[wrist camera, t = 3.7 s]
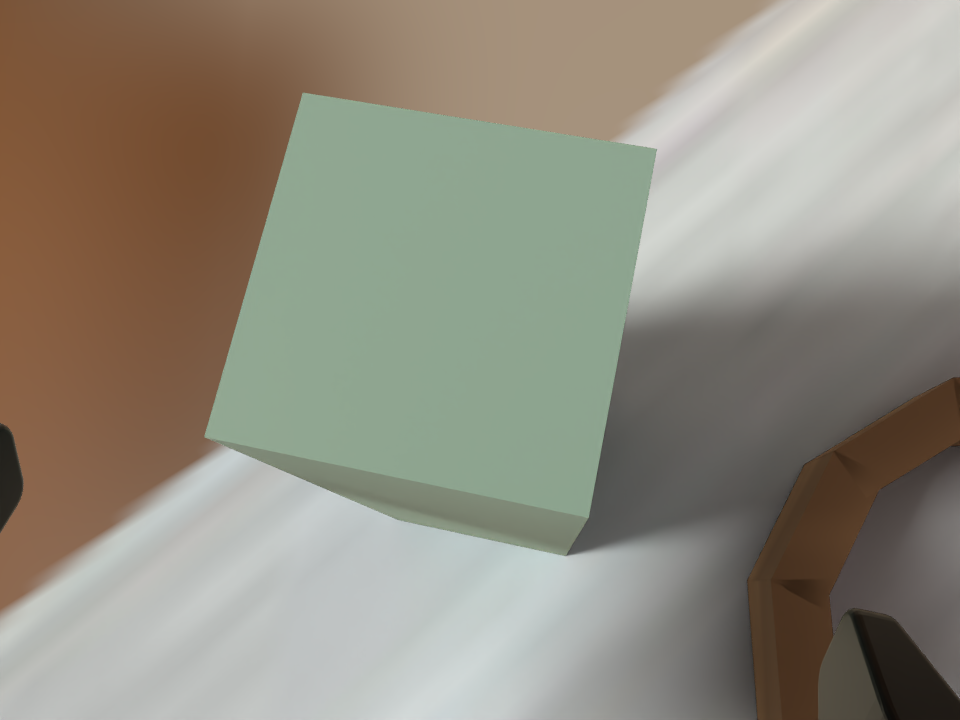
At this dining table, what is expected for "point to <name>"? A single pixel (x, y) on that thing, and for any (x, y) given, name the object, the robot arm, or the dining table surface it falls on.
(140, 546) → the dining table surface
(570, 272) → the green rectangular block
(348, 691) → the dining table surface
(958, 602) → the dining table surface
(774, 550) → the walnut ring
